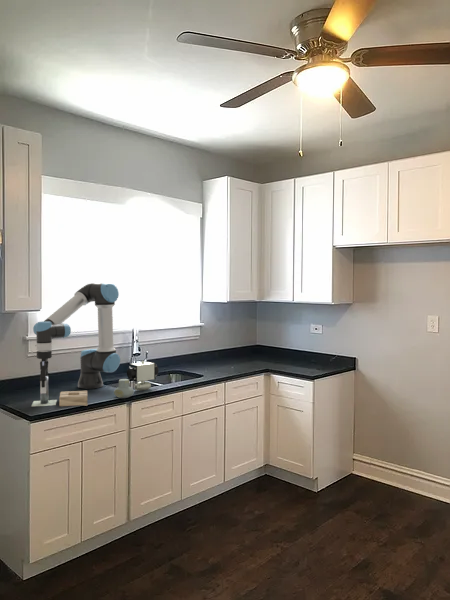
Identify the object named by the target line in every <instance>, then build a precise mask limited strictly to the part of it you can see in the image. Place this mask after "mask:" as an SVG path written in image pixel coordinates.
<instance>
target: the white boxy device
mask: <svg viewBox="0 0 450 600" xmlns="http://www.w3.org/2000/svg"><path fill="white" fill-rule="evenodd" d="M158 375H159V367H158V365H157V364H156V362H152V361H151V362H150V361H144V360H141V362H138V363H137V362H136V363H130V364H129V366H128V368H127V369H126V376H127V379H129V381H131V382H135V384H134V390H135V391H137V392H141V391H148V390H150V389H151V388H152V384H151V382H148V381H151V380H156V377H157V376H158ZM136 382H137V383H136ZM138 390H139V391H138Z"/></svg>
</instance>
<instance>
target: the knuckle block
mask: <svg viewBox="0 0 450 600" xmlns="http://www.w3.org/2000/svg"><path fill="white" fill-rule="evenodd" d="M58 402H59V405H58V406H59V407H68V406H69V407H71V406H84V407H85V406H86V407H87V406H88V390H72V391H71V390H70V391H68V390H67V391H60V392H59V401H58Z"/></svg>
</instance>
